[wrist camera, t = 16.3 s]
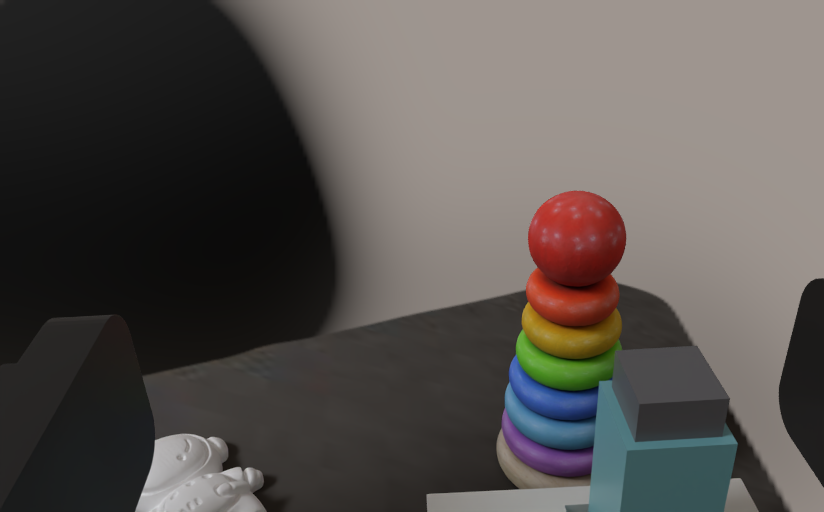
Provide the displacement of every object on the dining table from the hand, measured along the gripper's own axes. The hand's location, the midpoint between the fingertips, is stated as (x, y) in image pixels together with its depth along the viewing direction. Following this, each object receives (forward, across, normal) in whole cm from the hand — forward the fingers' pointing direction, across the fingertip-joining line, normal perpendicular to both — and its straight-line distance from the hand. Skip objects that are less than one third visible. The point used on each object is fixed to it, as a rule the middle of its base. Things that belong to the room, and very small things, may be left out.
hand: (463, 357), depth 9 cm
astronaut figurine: (+26, +15, +31) cm, 43 cm away
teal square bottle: (+17, -10, +29) cm, 35 cm away
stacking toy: (+28, -8, +30) cm, 42 cm away
